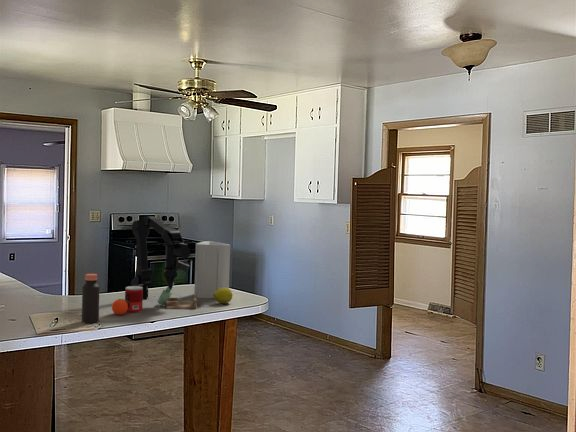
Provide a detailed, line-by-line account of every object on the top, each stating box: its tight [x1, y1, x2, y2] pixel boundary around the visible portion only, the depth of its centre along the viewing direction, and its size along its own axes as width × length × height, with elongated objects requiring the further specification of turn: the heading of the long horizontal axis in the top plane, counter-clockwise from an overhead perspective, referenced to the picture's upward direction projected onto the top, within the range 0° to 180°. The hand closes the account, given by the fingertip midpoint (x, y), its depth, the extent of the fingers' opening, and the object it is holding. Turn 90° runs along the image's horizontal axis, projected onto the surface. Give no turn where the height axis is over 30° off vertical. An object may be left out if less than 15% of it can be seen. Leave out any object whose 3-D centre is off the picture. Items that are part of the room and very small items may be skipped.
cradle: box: [165, 295, 198, 310], centre depth 290 cm, size 14×13×4 cm
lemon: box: [213, 288, 233, 305], centre depth 299 cm, size 11×8×8 cm
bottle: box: [157, 282, 175, 307], centre depth 288 cm, size 4×4×12 cm
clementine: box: [111, 298, 129, 316], centre depth 266 cm, size 8×7×7 cm
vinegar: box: [81, 273, 100, 324], centre depth 250 cm, size 7×7×20 cm
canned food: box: [124, 285, 144, 314], centre depth 274 cm, size 8×8×11 cm
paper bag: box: [193, 240, 231, 299], centre depth 317 cm, size 19×15×28 cm
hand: (170, 288), depth 288 cm, fingers closed on bottle, 2 cm apart
